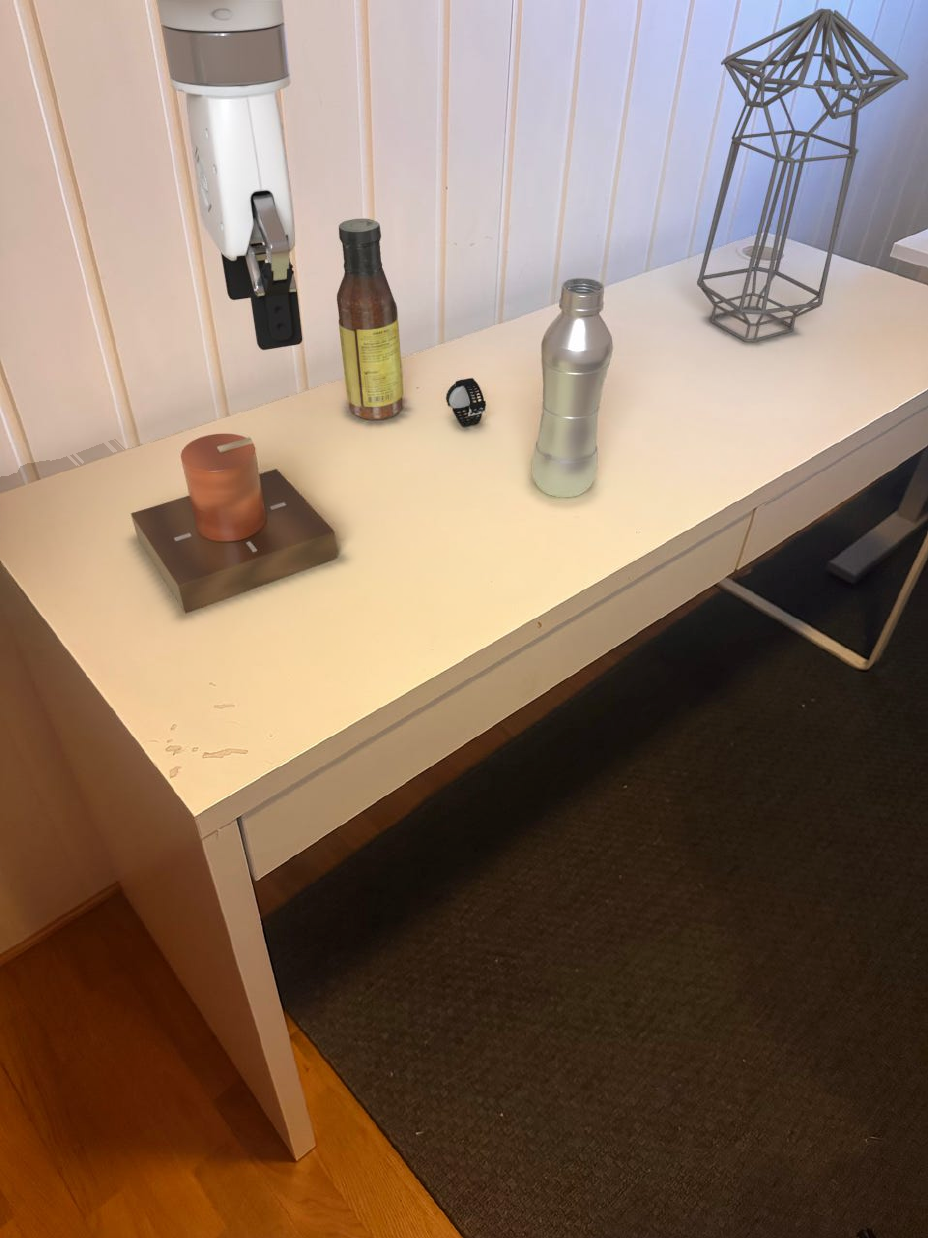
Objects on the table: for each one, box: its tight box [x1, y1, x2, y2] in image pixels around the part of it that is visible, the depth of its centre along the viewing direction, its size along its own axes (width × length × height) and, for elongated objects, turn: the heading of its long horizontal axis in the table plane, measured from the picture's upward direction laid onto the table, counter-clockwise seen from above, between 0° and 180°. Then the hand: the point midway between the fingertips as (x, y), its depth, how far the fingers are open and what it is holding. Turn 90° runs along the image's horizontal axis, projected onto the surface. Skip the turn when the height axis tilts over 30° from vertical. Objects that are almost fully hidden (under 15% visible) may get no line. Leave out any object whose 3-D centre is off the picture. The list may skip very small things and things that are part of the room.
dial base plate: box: [130, 468, 338, 614], centre depth 79 cm, size 14×12×3 cm
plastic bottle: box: [530, 277, 614, 498], centre depth 82 cm, size 6×7×20 cm
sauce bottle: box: [336, 218, 404, 421], centre depth 93 cm, size 7×6×20 cm
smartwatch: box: [445, 377, 487, 428], centre depth 96 cm, size 4×5×5 cm
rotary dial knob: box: [180, 433, 266, 542], centre depth 76 cm, size 6×6×7 cm
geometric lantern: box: [696, 8, 909, 343], centre depth 107 cm, size 16×16×35 cm
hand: (263, 319), depth 68 cm, fingers open, 9 cm apart
